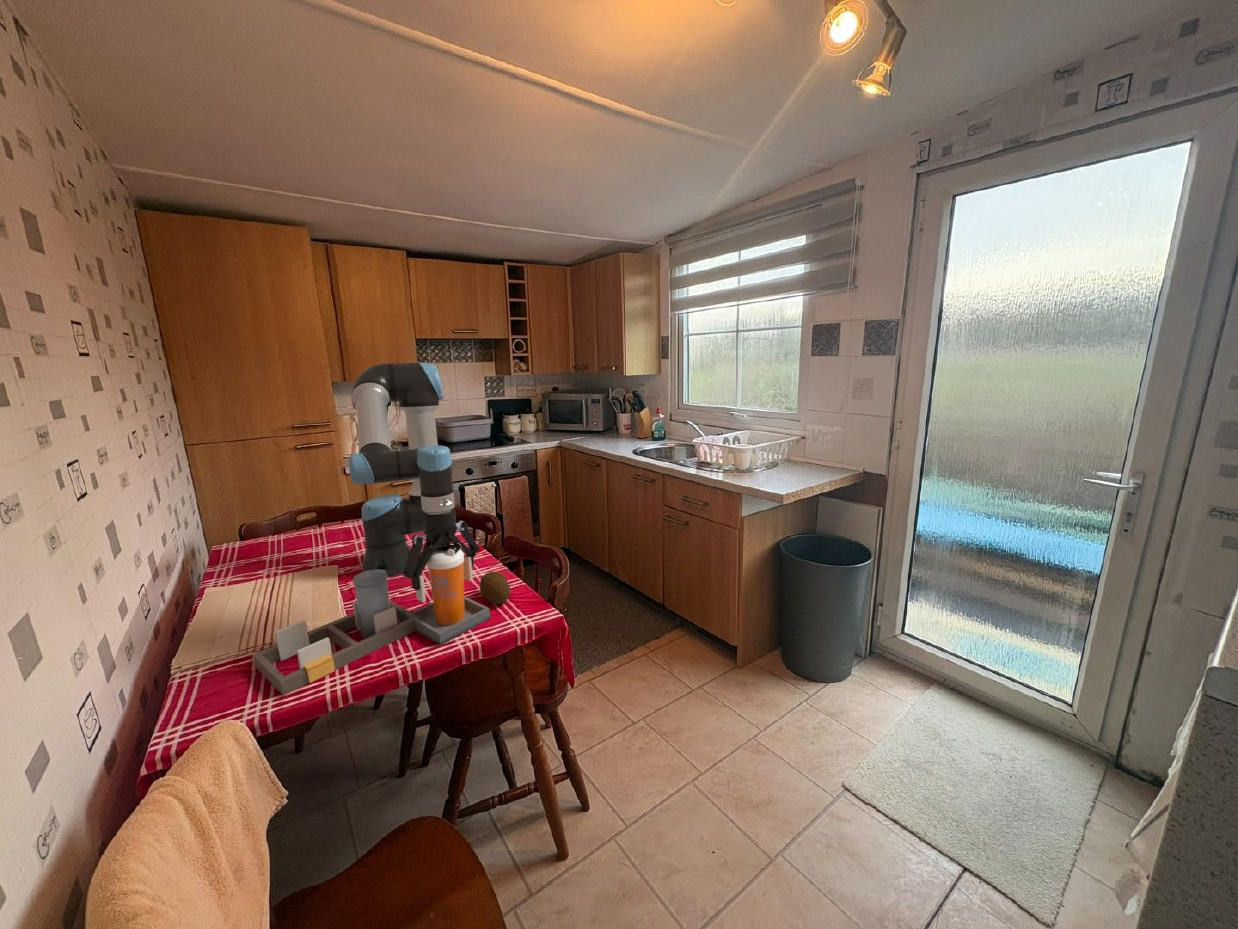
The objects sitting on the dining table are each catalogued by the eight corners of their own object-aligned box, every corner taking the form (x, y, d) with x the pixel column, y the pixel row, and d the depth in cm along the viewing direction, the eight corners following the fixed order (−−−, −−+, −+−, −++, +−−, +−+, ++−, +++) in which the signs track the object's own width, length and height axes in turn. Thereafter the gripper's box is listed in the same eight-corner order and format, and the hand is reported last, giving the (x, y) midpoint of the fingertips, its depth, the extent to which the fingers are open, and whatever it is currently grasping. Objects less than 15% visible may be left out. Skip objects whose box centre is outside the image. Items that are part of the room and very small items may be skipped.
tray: (406, 625, 122) (405, 614, 121) (456, 602, 133) (455, 592, 133) (440, 645, 113) (439, 634, 113) (490, 618, 125) (489, 608, 124)
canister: (354, 632, 119) (347, 577, 115) (383, 619, 125) (377, 566, 121) (369, 643, 114) (362, 586, 111) (399, 629, 120) (393, 574, 117)
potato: (492, 612, 128) (491, 585, 126) (471, 595, 137) (469, 570, 135) (519, 602, 133) (518, 576, 132) (497, 586, 142) (496, 562, 140)
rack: (255, 666, 106) (249, 638, 104) (388, 609, 130) (385, 585, 128) (284, 696, 96) (278, 666, 95) (422, 628, 120) (419, 603, 119)
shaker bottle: (437, 610, 128) (431, 539, 123) (471, 608, 128) (466, 538, 124) (427, 628, 119) (419, 553, 114) (464, 627, 120) (458, 552, 115)
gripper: (398, 527, 105) (407, 615, 109) (490, 500, 124) (494, 575, 129) (380, 520, 109) (390, 605, 114) (471, 495, 128) (477, 568, 133)
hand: (445, 589), depth 121 cm, fingers open, 13 cm apart
